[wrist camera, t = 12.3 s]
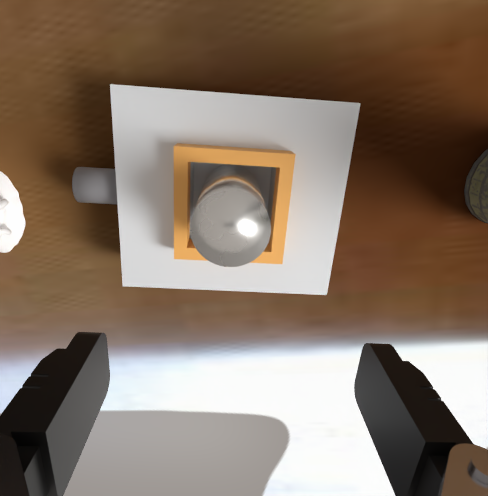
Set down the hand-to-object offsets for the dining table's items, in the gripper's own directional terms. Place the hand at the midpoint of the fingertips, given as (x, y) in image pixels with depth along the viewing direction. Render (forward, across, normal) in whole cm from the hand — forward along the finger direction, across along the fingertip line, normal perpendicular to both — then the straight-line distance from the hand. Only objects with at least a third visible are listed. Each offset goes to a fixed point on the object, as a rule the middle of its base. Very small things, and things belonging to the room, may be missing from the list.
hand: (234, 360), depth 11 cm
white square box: (+25, 0, 0) cm, 25 cm away
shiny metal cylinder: (+22, 0, 0) cm, 22 cm away
